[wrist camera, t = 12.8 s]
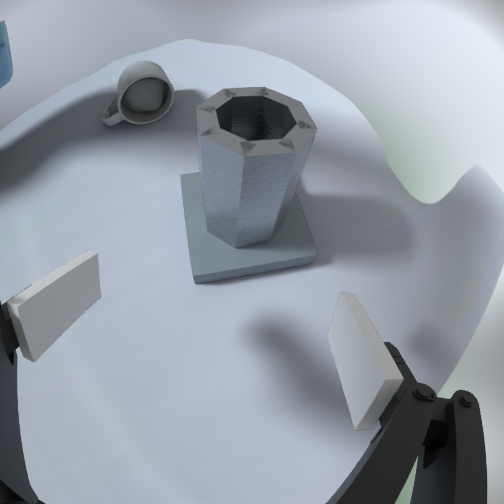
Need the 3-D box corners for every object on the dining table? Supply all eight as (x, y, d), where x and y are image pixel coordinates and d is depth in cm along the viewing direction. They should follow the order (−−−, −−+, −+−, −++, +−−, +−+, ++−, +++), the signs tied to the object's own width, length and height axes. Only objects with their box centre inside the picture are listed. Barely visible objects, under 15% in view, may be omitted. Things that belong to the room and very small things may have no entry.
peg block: (182, 187, 29) (173, 130, 22) (280, 174, 31) (295, 120, 24) (195, 284, 24) (183, 242, 17) (311, 263, 26) (342, 218, 19)
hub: (199, 187, 27) (193, 91, 17) (271, 178, 28) (291, 87, 18) (210, 252, 24) (204, 161, 14) (291, 239, 25) (330, 151, 15)
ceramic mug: (166, 90, 37) (160, 49, 30) (177, 115, 34) (172, 69, 27) (102, 111, 35) (90, 72, 28) (105, 140, 32) (88, 96, 25)
